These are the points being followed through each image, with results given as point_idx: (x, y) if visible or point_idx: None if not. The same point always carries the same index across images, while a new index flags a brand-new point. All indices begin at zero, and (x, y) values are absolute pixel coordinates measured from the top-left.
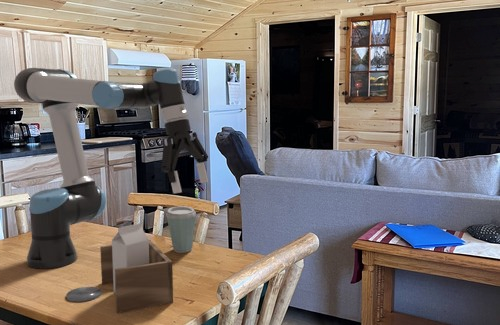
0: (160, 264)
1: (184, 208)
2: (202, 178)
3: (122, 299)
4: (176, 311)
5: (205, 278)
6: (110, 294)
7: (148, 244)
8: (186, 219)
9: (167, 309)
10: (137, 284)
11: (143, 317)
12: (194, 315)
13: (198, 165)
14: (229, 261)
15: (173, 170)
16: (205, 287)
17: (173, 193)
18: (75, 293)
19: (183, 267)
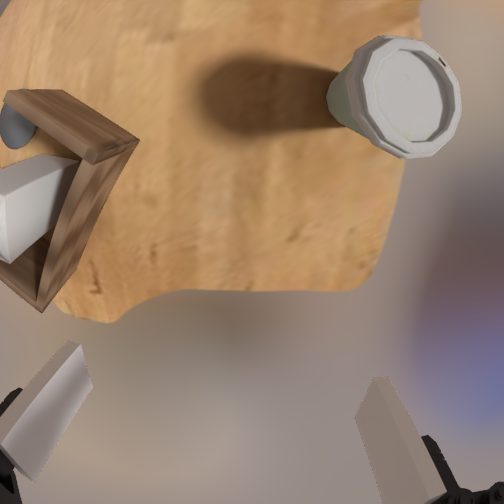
0: (25, 298)
1: (449, 96)
2: (373, 418)
3: None
4: (64, 288)
5: (187, 261)
6: (37, 153)
7: (16, 257)
8: (370, 138)
9: None
10: None
11: None
12: (74, 313)
13: (409, 494)
14: (310, 255)
15: (6, 471)
16: (150, 283)
17: (68, 340)
18: (11, 109)
19: (224, 177)
